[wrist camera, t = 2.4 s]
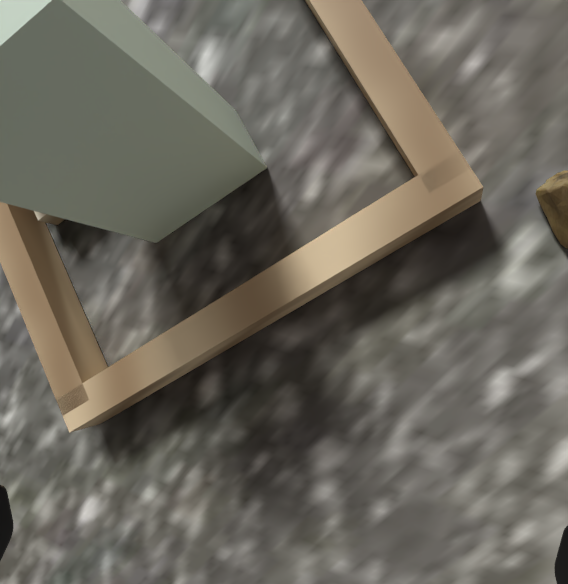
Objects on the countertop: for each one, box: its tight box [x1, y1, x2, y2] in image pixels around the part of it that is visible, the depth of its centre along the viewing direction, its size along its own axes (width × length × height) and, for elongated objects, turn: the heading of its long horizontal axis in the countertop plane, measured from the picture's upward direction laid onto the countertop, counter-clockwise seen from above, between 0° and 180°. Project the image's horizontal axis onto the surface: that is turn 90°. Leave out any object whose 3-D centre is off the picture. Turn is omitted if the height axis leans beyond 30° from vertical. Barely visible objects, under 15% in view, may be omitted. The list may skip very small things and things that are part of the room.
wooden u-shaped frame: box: [0, 0, 483, 432], centre depth 22 cm, size 18×12×2 cm, turn 118°
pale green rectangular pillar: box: [0, 0, 267, 243], centre depth 17 cm, size 6×3×12 cm, turn 118°
